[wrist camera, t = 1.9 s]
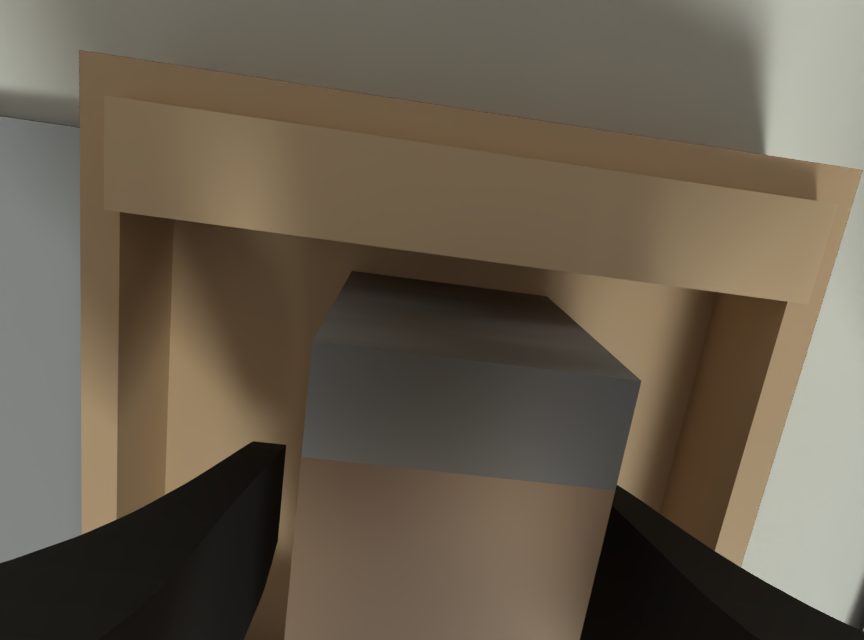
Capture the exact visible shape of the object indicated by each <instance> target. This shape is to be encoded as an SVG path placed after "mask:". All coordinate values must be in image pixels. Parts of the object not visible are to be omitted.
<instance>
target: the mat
mask: <svg viewBox="0 0 864 640" xmlns="http://www.w3.org/2000/svg"><path fill="white" fill-rule="evenodd" d="M79 535H82V487H81V283H80V128H79V127H72V126H65V125H58V124H51V123H44V122H37V121H30V120H23V119H16V118H9V117H2V116H0V563H2V562H5V561H9V560H12V559H15V558H18V557H21V556H23V555H26V554H29V553H32V552H35V551H38V550H40V549H43V548H46V547H49V546H52V545H55V544H57V543H60V542H63V541H66V540H69V539H72V538H74V537H77V536H79Z"/></svg>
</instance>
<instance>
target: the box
mask: <svg viewBox="0 0 864 640" xmlns="http://www.w3.org/2000/svg"><path fill="white" fill-rule="evenodd" d="M640 385H641V380H640V379H639V378H638V377H637V376H636V375H634V374H633V373H632V372H631V371H630V370H629V369H628V368H627V367H625V366H624V365H623V364H622V363H621V362H620V361H619V360H618V359H617V358H615V357H614V356H613V355H612V354H611V353H610V352H609V351H608V350H606V349H605V348H604V347H603V346H602V345H601V344H600V343H599V342H598V341H596V340H595V339H594V338H593V337H592V336H591V335H590V334H589V333H588V332H586V331H585V330H584V329H583V328H582V327H581V326H580V325H579V324H577V323H576V322H575V321H574V320H573V319H572V318H571V317H570V316H569V315H567V314H566V313H565V312H564V311H563V310H562V309H561V308H560V307H558V306H557V305H556V304H555V303H554V302H553V301H552V300H551V299H550V298H548V297H547V296H541V295H533V294H526V293H518V292H510V291H503V290H495V289H487V288H480V287H472V286H465V285H457V284H449V283H442V282H434V281H426V280H419V279H411V278H403V277H396V276H388V275H380V274H373V273H365V272H358V271H352V272H351V273H350V275H349V277H348V279H347V280H346V282H345V284H344V286H343V288H342V289H341V291H340V293H339V295H338V296H337V298H336V300H335V302H334V303H333V305H332V307H331V309H330V311H329V312H328V314H327V316H326V318H325V319H324V321H323V323H322V325H321V327H320V328H319V330H318V332H317V334H316V335H315V337H314V339H313V341H312V350H311V361H310V371H309V382H308V392H307V403H306V414H305V424H304V435H303V446H302V456H301V467H300V477H299V488H298V499H297V509H296V520H295V530H294V541H293V552H292V562H291V573H290V584H289V594H288V605H287V615H286V626H285V637H284V640H580V636H581V632H582V628H583V624H584V620H585V615H586V611H587V607H588V603H589V599H590V594H591V590H592V586H593V582H594V578H595V574H596V569H597V565H598V561H599V557H600V553H601V549H602V544H603V540H604V536H605V532H606V528H607V523H608V519H609V515H610V511H611V507H612V503H613V498H614V494H615V490H616V486H617V482H618V477H619V473H620V469H621V465H622V461H623V457H624V452H625V448H626V444H627V440H628V436H629V431H630V427H631V423H632V419H633V415H634V411H635V406H636V402H637V398H638V394H639V390H640Z"/></svg>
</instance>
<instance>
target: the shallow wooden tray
mask: <svg viewBox="0 0 864 640" xmlns="http://www.w3.org/2000/svg"><path fill="white" fill-rule="evenodd" d="M79 80H80V283H81V487H82V534H84V533H87V532H89V531H92V530H94V529H96V528H99V527H101V526H103V525H105V524H108V523H110V522H112V521H115V520H117V519H119V518H121V517H123V516H125V515H128V514H130V513H132V512H134V511H136V510H138V509H140V508H142V507H144V506H146V505H147V504H149V503H151V502H153V501H155V500H157V499H158V498H160V497H162V496H164V495H166V494H167V493H169V492H171V491H173V490H175V489H176V488H178V487H180V486H182V485H184V484H186V483H187V482H189V481H191V480H192V479H194V478H195V477H197V476H199V475H200V474H202V473H203V472H205V471H207V470H208V469H210V468H211V467H213V466H215V465H216V464H218V463H219V462H221V461H223V460H224V459H226V458H227V457H229V456H230V455H232V454H233V453H235V452H236V451H238V450H239V449H241V448H243V447H244V446H246V445H247V444H249V443H251V442H253V441H256V442H265V443H274V444H283V445H286V454H285V465H284V477H283V488H282V500H281V511H280V523H279V534H278V543H277V546H276V550H275V554H274V557H273V561H272V565H271V568H270V572H269V575H268V579H267V582H266V586H265V589H264V592H263V594H262V597H261V599H260V602H259V604H258V607H257V609H256V612H255V614H254V616H253V619H252V621H251V624H250V626H249V629H248V631H247V633H246V636H245V638H244V640H284V637H285V626H286V615H287V605H288V594H289V584H290V573H291V562H292V552H293V541H294V530H295V520H296V509H297V499H298V488H299V477H300V467H301V456H302V446H303V435H304V424H305V414H306V403H307V392H308V382H309V371H310V361H311V350H312V341H313V339H314V337H315V335H316V334H317V332H318V330H319V328H320V327H321V325H322V323H323V321H324V319H325V318H326V316H327V314H328V312H329V311H330V309H331V307H332V305H333V303H334V302H335V300H336V298H337V296H338V295H339V293H340V291H341V289H342V288H343V286H344V284H345V282H346V280H347V279H348V277H349V275H350V273H351V272H352V271H358V272H365V273H373V274H380V275H388V276H396V277H403V278H411V279H419V280H426V281H434V282H442V283H449V284H457V285H465V286H472V287H480V288H487V289H495V290H503V291H510V292H518V293H526V294H533V295H541V296H547V297H548V298H550V299H551V300H552V301H553V302H554V303H555V304H556V305H557V306H558V307H560V308H561V309H562V310H563V311H564V312H565V313H566V314H567V315H569V316H570V317H571V318H572V319H573V320H574V321H575V322H576V323H577V324H579V325H580V326H581V327H582V328H583V329H584V330H585V331H586V332H588V333H589V334H590V335H591V336H592V337H593V338H594V339H595V340H596V341H598V342H599V343H600V344H601V345H602V346H603V347H604V348H605V349H606V350H608V351H609V352H610V353H611V354H612V355H613V356H614V357H615V358H617V359H618V360H619V361H620V362H621V363H622V364H623V365H624V366H625V367H627V368H628V369H629V370H630V371H631V372H632V373H633V374H634V375H636V376H637V377H638V378H639V379H640V380H641V385H640V390H639V394H638V398H637V402H636V406H635V411H634V415H633V419H632V423H631V427H630V431H629V436H628V440H627V444H626V448H625V452H624V457H623V461H622V465H621V469H620V473H619V477H618V482H617V485H618V486H620V487H621V488H623V489H625V490H626V491H628V492H629V493H631V494H632V495H634V496H635V497H637V498H638V499H640V500H641V501H643V502H644V503H645V504H647V505H648V506H650V507H651V508H653V509H654V510H655V511H657V512H658V513H660V514H661V515H663V516H664V517H665V518H667V519H668V520H670V521H671V522H672V523H674V524H675V525H677V526H678V527H680V528H681V529H683V530H684V531H685V532H687V533H688V534H690V535H691V536H693V537H694V538H696V539H697V540H699V541H700V542H702V543H703V544H705V545H706V546H708V547H709V548H711V549H712V550H714V551H715V552H717V553H719V554H720V555H722V556H723V557H725V558H727V559H728V560H730V561H731V562H733V563H735V564H736V565H738V566H739V567H741V565H742V562H743V559H744V555H745V552H746V549H747V546H748V542H749V539H750V536H751V533H752V529H753V526H754V523H755V520H756V516H757V513H758V510H759V507H760V503H761V500H762V497H763V494H764V490H765V487H766V484H767V481H768V477H769V474H770V471H771V468H772V464H773V461H774V458H775V455H776V451H777V448H778V445H779V442H780V438H781V435H782V432H783V428H784V425H785V422H786V419H787V415H788V412H789V409H790V406H791V402H792V399H793V396H794V393H795V389H796V386H797V383H798V380H799V376H800V373H801V370H802V367H803V363H804V360H805V357H806V354H807V350H808V347H809V344H810V341H811V337H812V334H813V331H814V328H815V324H816V321H817V318H818V315H819V311H820V308H821V305H822V302H823V298H824V295H825V292H826V289H827V285H828V282H829V279H830V276H831V272H832V269H833V266H834V263H835V259H836V256H837V253H838V250H839V246H840V243H841V240H842V237H843V233H844V230H845V227H846V224H847V220H848V217H849V214H850V210H851V207H852V204H853V201H854V197H855V194H856V191H857V188H858V184H859V181H860V178H861V175H862V171H863V170H860V169H853V168H847V167H840V166H834V165H827V164H821V163H814V162H808V161H801V160H795V159H788V158H781V157H775V156H768V155H762V154H755V153H749V152H742V151H736V150H729V149H723V148H716V147H710V146H703V145H697V144H690V143H683V142H677V141H670V140H664V139H657V138H651V137H644V136H638V135H631V134H625V133H618V132H612V131H605V130H598V129H592V128H585V127H579V126H572V125H566V124H559V123H553V122H546V121H540V120H533V119H527V118H520V117H514V116H507V115H500V114H494V113H487V112H481V111H474V110H468V109H461V108H455V107H448V106H442V105H435V104H429V103H422V102H415V101H409V100H402V99H396V98H389V97H383V96H376V95H370V94H363V93H357V92H350V91H344V90H337V89H331V88H324V87H317V86H311V85H304V84H298V83H291V82H285V81H278V80H272V79H265V78H259V77H252V76H246V75H239V74H232V73H226V72H219V71H213V70H206V69H200V68H193V67H187V66H180V65H174V64H167V63H161V62H154V61H147V60H141V59H134V58H128V57H121V56H115V55H108V54H102V53H95V52H89V51H82V50H79Z"/></svg>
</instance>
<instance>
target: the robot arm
mask: <svg viewBox="0 0 864 640" xmlns="http://www.w3.org/2000/svg"><path fill="white" fill-rule="evenodd" d="M285 454H286V445H283V444H274V443H265V442H256V441H253V442H251V443H249V444H247V445H246V446H244V447H243V448H241V449H239V450H238V451H236V452H235V453H233V454H232V455H230V456H229V457H227V458H226V459H224V460H223V461H221V462H219V463H218V464H216V465H215V466H213V467H211V468H210V469H208V470H207V471H205V472H203V473H202V474H200V475H199V476H197V477H195V478H194V479H192V480H191V481H189V482H187V483H186V484H184V485H182V486H180V487H178V488H176V489H175V490H173V491H171V492H169V493H167V494H166V495H164V496H162V497H160V498H158V499H157V500H155V501H153V502H151V503H149V504H147V505H146V506H144V507H142V508H140V509H138V510H136V511H134V512H132V513H130V514H128V515H125V516H123V517H121V518H119V519H117V520H115V521H112V522H110V523H108V524H105V525H103V526H101V527H99V528H96V529H94V530H92V531H89V532H87V533H84V534H82V535H79V536H77V537H74V538H72V539H69V540H66V541H63V542H60V543H57V544H55V545H52V546H49V547H46V548H43V549H40V550H38V551H35V552H32V553H29V554H26V555H23V556H21V557H18V558H15V559H12V560H9V561H5V562H2V563H0V640H244V638H245V636H246V633H247V631H248V629H249V626H250V624H251V621H252V619H253V616H254V614H255V612H256V609H257V607H258V604H259V602H260V599H261V597H262V594H263V592H264V589H265V586H266V582H267V579H268V575H269V572H270V568H271V565H272V561H273V557H274V554H275V550H276V546H277V543H278V534H279V523H280V511H281V500H282V488H283V477H284V465H285ZM580 640H864V628H863V631H861V630H858V629H856V628H854V627H852V626H850V625H848V624H845V623H843V622H841V621H839V620H837V619H835V618H833V617H831V616H829V615H827V614H825V613H823V612H821V611H819V610H817V609H815V608H813V607H811V606H809V605H807V604H805V603H803V602H801V601H799V600H797V599H796V598H794V597H792V596H790V595H788V594H786V593H785V592H783V591H781V590H779V589H777V588H775V587H773V586H772V585H770V584H768V583H766V582H764V581H763V580H761V579H759V578H758V577H756V576H754V575H752V574H751V573H749V572H747V571H746V570H744V569H743V568H741V567H739V566H738V565H736V564H735V563H733V562H731V561H730V560H728V559H727V558H725V557H723V556H722V555H720V554H719V553H717V552H715V551H714V550H712V549H711V548H709V547H708V546H706V545H705V544H703V543H702V542H700V541H699V540H697V539H696V538H694V537H693V536H691V535H690V534H688V533H687V532H685V531H684V530H683V529H681V528H680V527H678V526H677V525H675V524H674V523H672V522H671V521H670V520H668V519H667V518H665V517H664V516H663V515H661V514H660V513H658V512H657V511H655V510H654V509H653V508H651V507H650V506H648V505H647V504H645V503H644V502H643V501H641V500H640V499H638V498H637V497H635V496H634V495H632V494H631V493H629V492H628V491H626V490H625V489H623V488H621V487H620V486H618V485H617V486H616V490H615V494H614V498H613V503H612V507H611V511H610V515H609V519H608V523H607V528H606V532H605V536H604V540H603V544H602V549H601V553H600V557H599V561H598V565H597V569H596V574H595V578H594V582H593V586H592V590H591V594H590V599H589V603H588V607H587V611H586V615H585V620H584V624H583V628H582V632H581V636H580Z"/></svg>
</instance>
